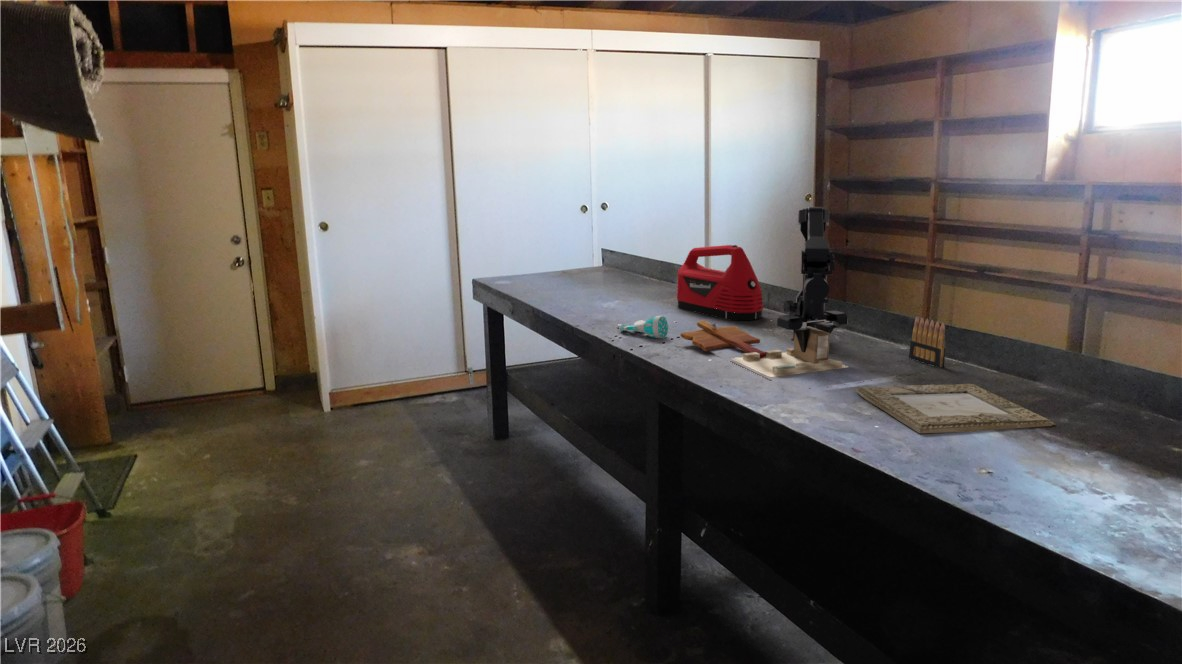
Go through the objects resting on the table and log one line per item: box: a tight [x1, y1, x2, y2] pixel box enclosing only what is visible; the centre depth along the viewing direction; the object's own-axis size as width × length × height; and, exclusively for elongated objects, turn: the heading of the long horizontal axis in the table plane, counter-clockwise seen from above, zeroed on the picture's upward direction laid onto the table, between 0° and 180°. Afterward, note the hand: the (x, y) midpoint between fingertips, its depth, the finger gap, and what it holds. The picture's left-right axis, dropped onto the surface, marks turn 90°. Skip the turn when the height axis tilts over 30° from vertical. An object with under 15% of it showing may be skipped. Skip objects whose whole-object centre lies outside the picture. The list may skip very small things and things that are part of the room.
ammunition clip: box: [908, 316, 946, 368], centre depth 195 cm, size 11×2×12 cm, turn 21°
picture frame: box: [854, 383, 1056, 434], centre depth 160 cm, size 27×30×3 cm
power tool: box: [676, 244, 764, 321], centre depth 265 cm, size 16×40×25 cm, turn 33°
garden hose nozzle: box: [617, 315, 669, 340], centre depth 235 cm, size 7×18×20 cm
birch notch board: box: [729, 347, 849, 382], centre depth 194 cm, size 24×19×3 cm
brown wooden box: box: [793, 326, 831, 364], centre depth 196 cm, size 4×9×8 cm, turn 20°
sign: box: [679, 320, 766, 358], centre depth 213 cm, size 20×6×30 cm
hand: (810, 351), depth 196 cm, fingers closed on brown wooden box, 4 cm apart
